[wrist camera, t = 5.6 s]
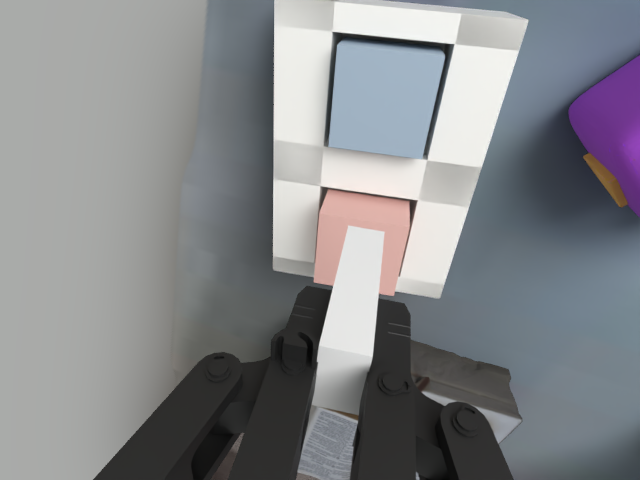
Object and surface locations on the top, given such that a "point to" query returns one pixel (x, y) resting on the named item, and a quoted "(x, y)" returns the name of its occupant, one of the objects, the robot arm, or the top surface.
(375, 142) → the key slate
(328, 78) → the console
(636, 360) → the top surface
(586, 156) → the toy camera
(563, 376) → the top surface
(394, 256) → the key rose
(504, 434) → the bible
